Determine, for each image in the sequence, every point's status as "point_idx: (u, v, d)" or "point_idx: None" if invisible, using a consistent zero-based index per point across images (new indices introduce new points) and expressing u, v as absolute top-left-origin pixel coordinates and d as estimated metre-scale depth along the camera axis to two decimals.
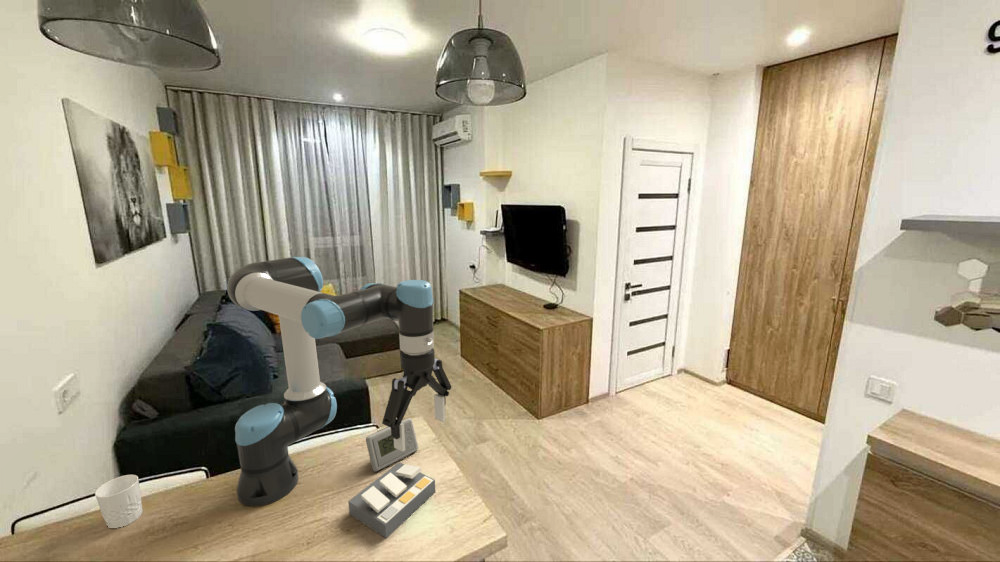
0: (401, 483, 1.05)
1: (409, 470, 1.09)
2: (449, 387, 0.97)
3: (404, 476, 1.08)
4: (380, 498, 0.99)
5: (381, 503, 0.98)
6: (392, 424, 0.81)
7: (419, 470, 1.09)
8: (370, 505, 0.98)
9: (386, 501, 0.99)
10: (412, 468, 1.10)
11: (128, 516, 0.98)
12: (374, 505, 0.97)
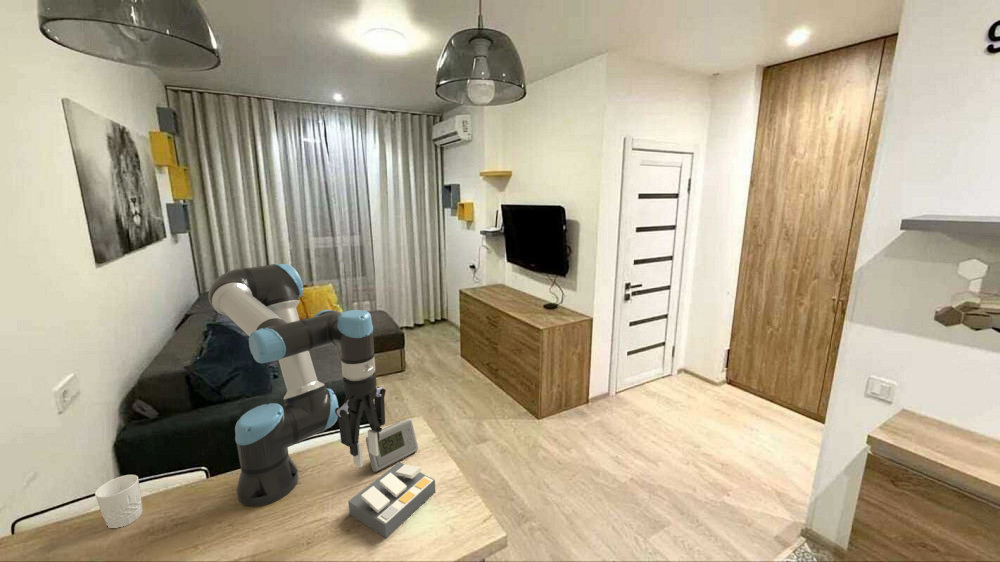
0: (401, 483, 1.05)
1: (409, 470, 1.09)
2: (383, 422, 1.00)
3: (404, 476, 1.08)
4: (380, 498, 0.99)
5: (381, 503, 0.98)
6: (349, 444, 0.92)
7: (419, 470, 1.09)
8: (370, 505, 0.98)
9: (386, 501, 0.99)
10: (412, 468, 1.10)
11: (128, 516, 0.98)
12: (374, 505, 0.97)
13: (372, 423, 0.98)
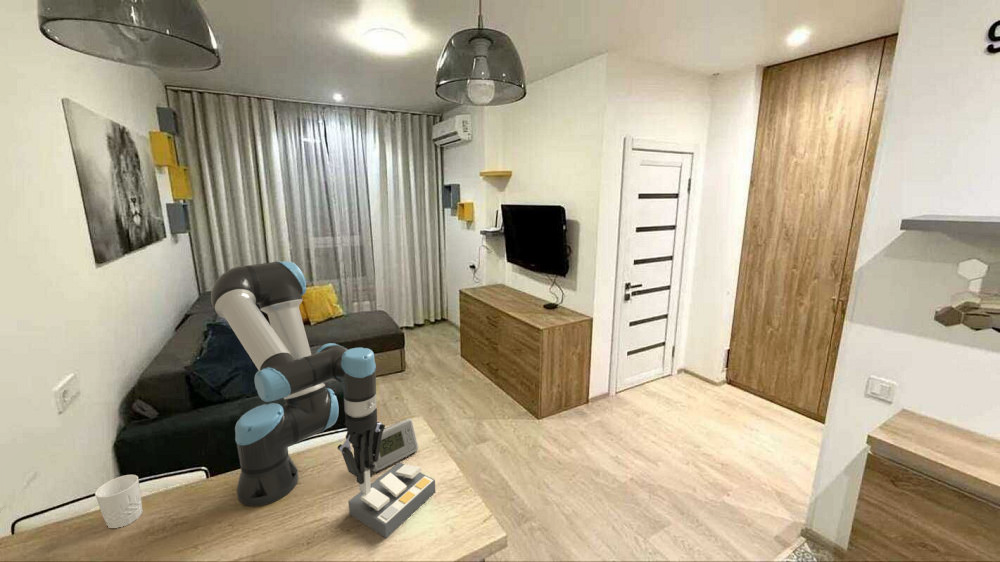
0: (401, 483, 1.05)
1: (409, 470, 1.09)
2: (376, 459, 1.02)
3: (404, 476, 1.08)
4: (379, 497, 0.99)
5: (380, 501, 0.98)
6: (356, 473, 0.96)
7: (419, 470, 1.09)
8: (370, 505, 0.98)
9: (386, 499, 0.99)
10: (412, 468, 1.10)
11: (128, 516, 0.98)
12: (373, 504, 0.97)
13: (366, 459, 1.00)
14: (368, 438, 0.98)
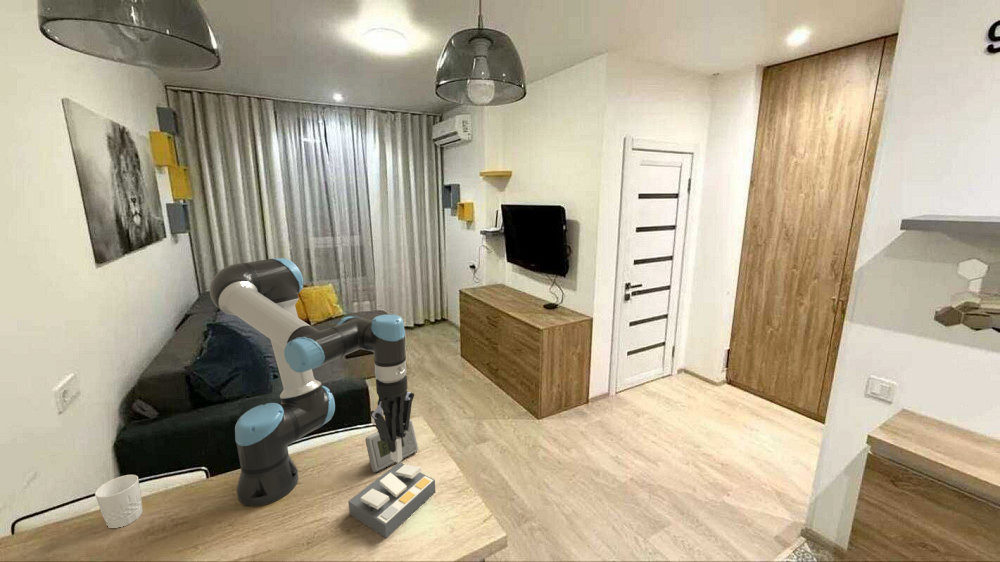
0: (401, 483, 1.05)
1: (409, 470, 1.09)
2: (406, 427, 1.02)
3: (404, 476, 1.08)
4: (379, 497, 0.99)
5: (380, 500, 0.98)
6: (388, 440, 0.97)
7: (419, 470, 1.09)
8: (370, 504, 0.98)
9: (385, 497, 0.99)
10: (412, 468, 1.10)
11: (128, 516, 0.98)
12: (373, 503, 0.97)
13: (397, 427, 1.00)
14: (399, 405, 0.98)
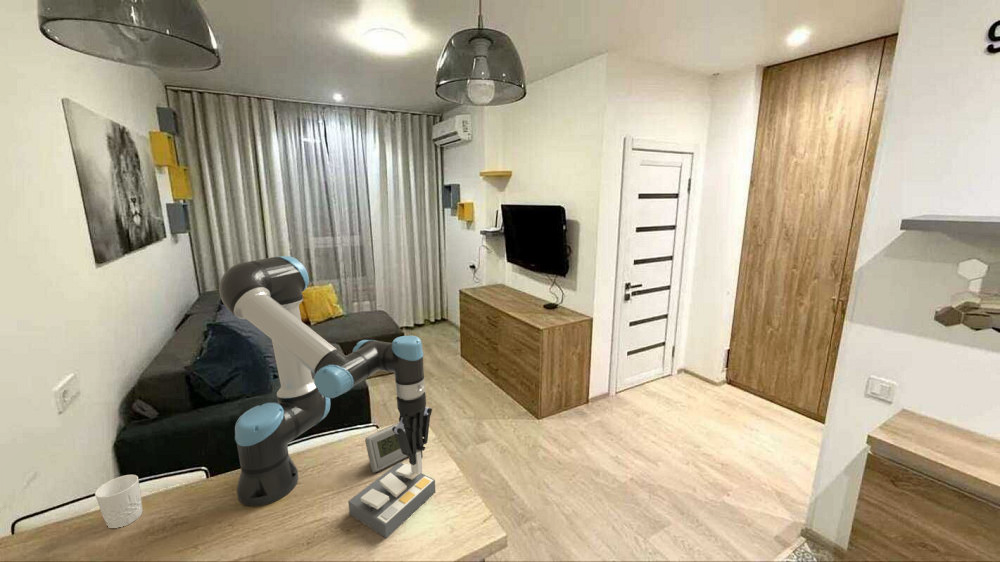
0: (401, 483, 1.05)
1: (409, 470, 1.09)
2: (426, 441, 1.08)
3: (404, 476, 1.08)
4: (379, 497, 0.99)
5: (379, 500, 0.98)
6: (410, 454, 1.03)
7: None
8: (370, 504, 0.98)
9: (385, 497, 0.99)
10: None
11: (128, 516, 0.98)
12: (373, 503, 0.97)
13: (417, 441, 1.06)
14: (418, 420, 1.04)
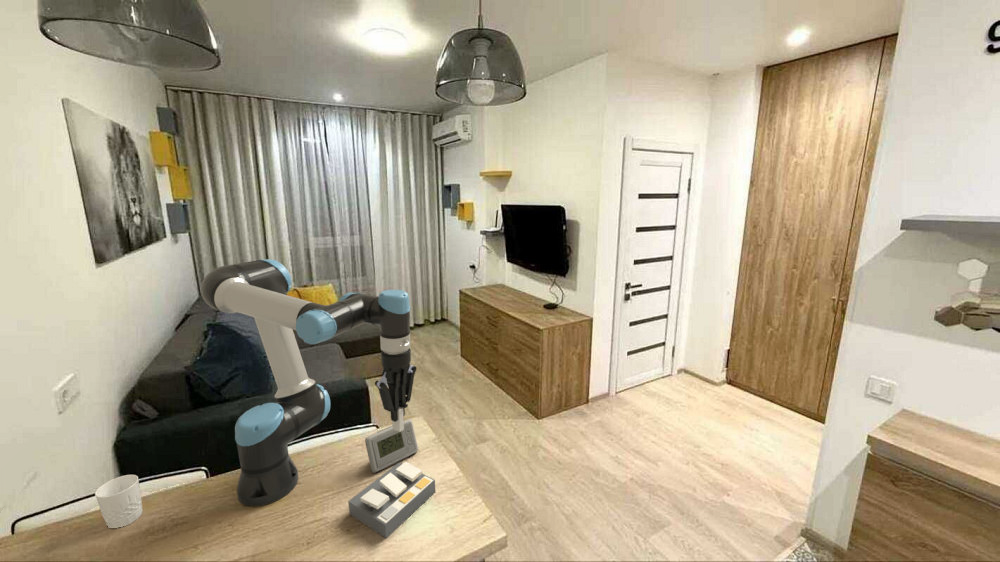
0: (401, 483, 1.05)
1: (410, 471, 1.09)
2: (408, 399, 1.07)
3: (404, 476, 1.08)
4: (379, 497, 0.99)
5: (379, 500, 0.98)
6: (391, 409, 1.01)
7: (420, 473, 1.09)
8: (370, 504, 0.98)
9: (385, 497, 0.99)
10: (413, 469, 1.10)
11: (128, 516, 0.98)
12: (373, 503, 0.97)
13: (400, 398, 1.05)
14: (402, 377, 1.03)
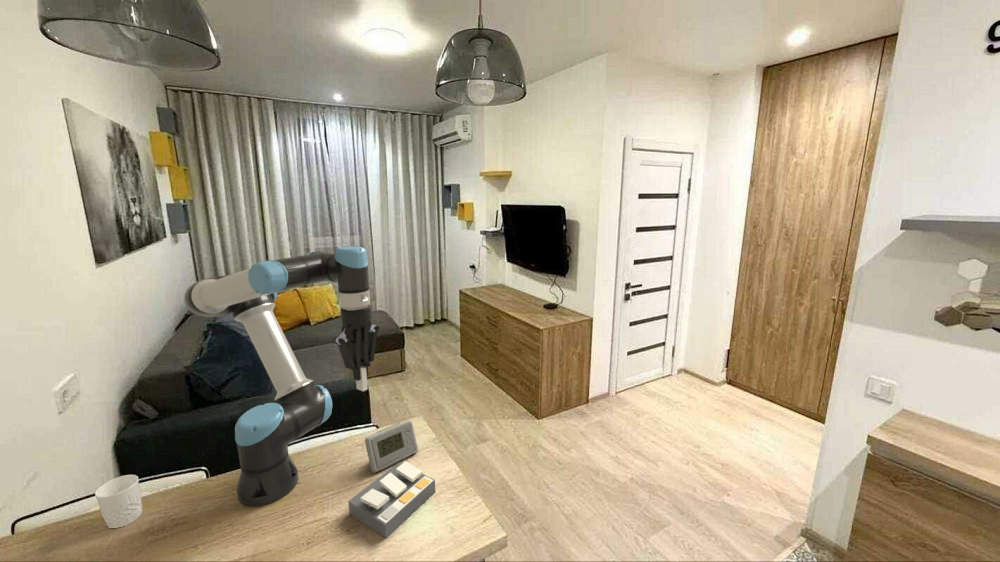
0: (401, 483, 1.05)
1: (410, 471, 1.09)
2: (372, 358, 1.06)
3: (404, 476, 1.08)
4: (379, 497, 0.99)
5: (379, 500, 0.98)
6: (353, 367, 1.01)
7: (420, 474, 1.09)
8: (370, 504, 0.98)
9: (385, 497, 0.99)
10: (413, 470, 1.10)
11: (128, 516, 0.98)
12: (373, 503, 0.97)
13: (362, 357, 1.04)
14: (363, 335, 1.02)
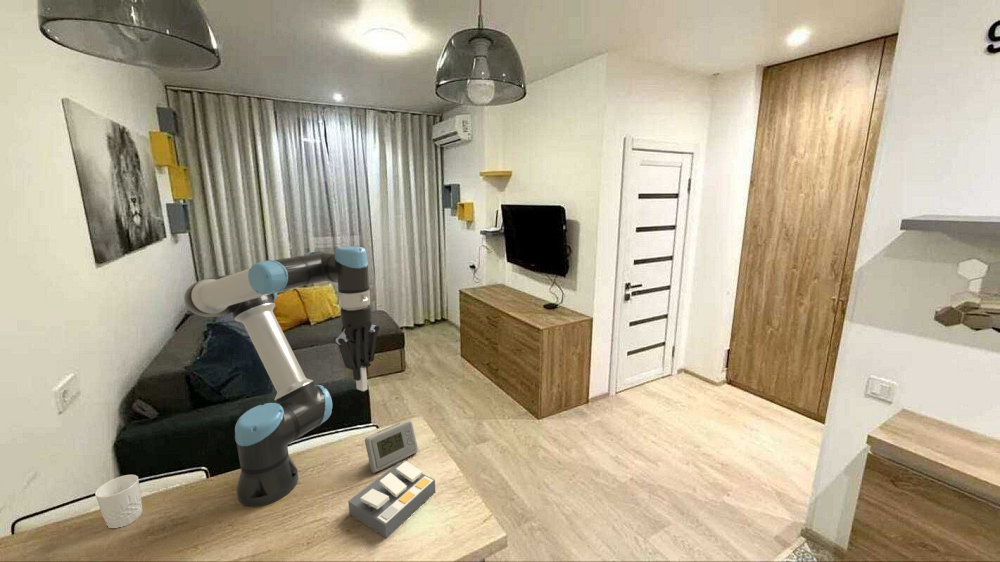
0: (401, 483, 1.05)
1: (410, 471, 1.09)
2: (372, 358, 1.06)
3: (404, 476, 1.08)
4: (379, 497, 0.99)
5: (379, 500, 0.98)
6: (353, 367, 1.01)
7: (420, 474, 1.09)
8: (370, 504, 0.98)
9: (385, 497, 0.99)
10: (413, 470, 1.10)
11: (128, 516, 0.98)
12: (373, 503, 0.97)
13: (362, 357, 1.04)
14: (363, 335, 1.02)
